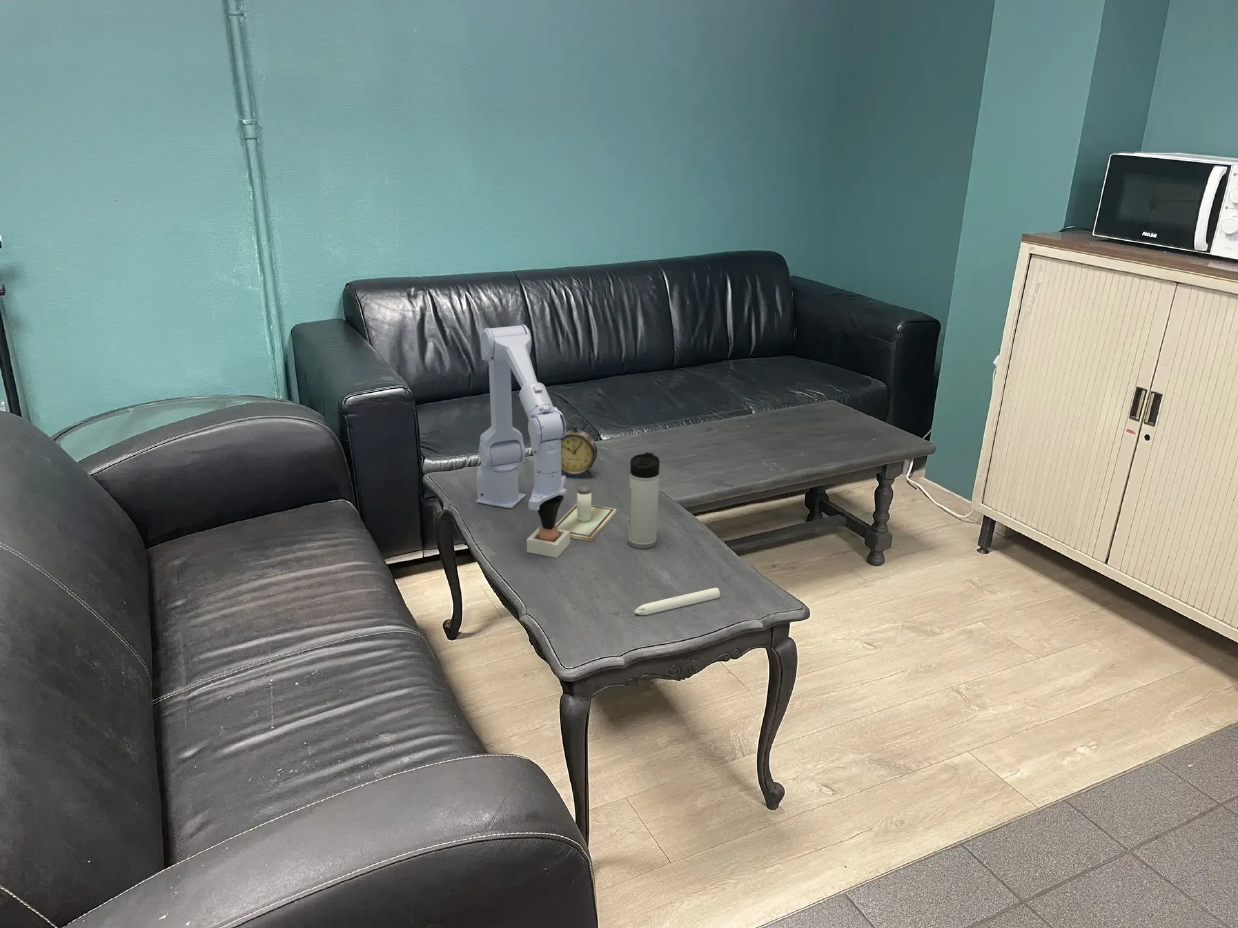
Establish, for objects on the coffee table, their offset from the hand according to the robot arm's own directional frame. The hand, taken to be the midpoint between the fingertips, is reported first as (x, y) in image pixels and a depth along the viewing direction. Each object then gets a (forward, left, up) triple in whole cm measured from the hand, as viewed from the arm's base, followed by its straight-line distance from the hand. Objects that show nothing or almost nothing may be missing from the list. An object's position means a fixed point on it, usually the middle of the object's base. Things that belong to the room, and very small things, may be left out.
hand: (548, 527), depth 182 cm
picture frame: (+2, +14, -5) cm, 15 cm away
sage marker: (+2, +14, -4) cm, 15 cm away
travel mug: (+18, +10, -5) cm, 21 cm away
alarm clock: (-10, +39, -5) cm, 41 cm away
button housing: (0, 0, -5) cm, 5 cm away
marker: (+32, -12, -6) cm, 35 cm away
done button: (0, 0, -3) cm, 3 cm away
